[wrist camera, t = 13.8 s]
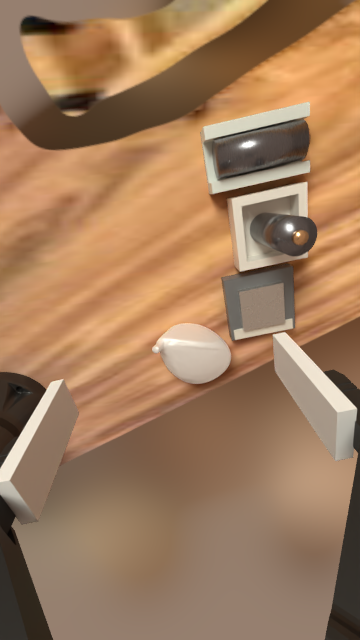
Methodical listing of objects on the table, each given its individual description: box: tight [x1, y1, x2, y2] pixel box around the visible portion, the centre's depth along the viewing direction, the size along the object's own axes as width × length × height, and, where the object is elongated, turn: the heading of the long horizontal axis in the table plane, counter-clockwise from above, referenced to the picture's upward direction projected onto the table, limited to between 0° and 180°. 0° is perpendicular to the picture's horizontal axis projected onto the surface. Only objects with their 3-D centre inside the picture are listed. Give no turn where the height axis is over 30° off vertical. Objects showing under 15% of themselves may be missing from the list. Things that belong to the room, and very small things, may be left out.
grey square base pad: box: [221, 264, 295, 341], centre depth 46 cm, size 11×11×2 cm
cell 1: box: [212, 120, 310, 179], centre depth 35 cm, size 12×4×4 cm, turn 102°
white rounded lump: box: [152, 323, 231, 384], centre depth 46 cm, size 10×11×12 cm
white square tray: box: [227, 182, 308, 272], centre depth 40 cm, size 10×10×4 cm
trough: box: [200, 102, 310, 194], centre depth 36 cm, size 13×8×3 cm, turn 102°
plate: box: [238, 281, 285, 331], centre depth 45 cm, size 7×7×1 cm
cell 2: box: [250, 212, 317, 256], centre depth 36 cm, size 4×4×12 cm
